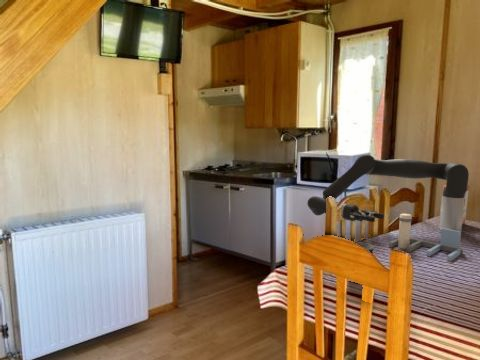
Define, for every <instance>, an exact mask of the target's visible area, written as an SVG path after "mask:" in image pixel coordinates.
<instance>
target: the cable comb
mask: <svg viewBox="0 0 480 360" xmlns="http://www.w3.org/2000/svg"><path fill="white" fill-rule="evenodd" d="M461 235H462V230H461V231H456V230H450V229H444V228H442V229H441V230H440V241H439V242H440V243H435V242H432V241H427V240H421V239H417V238H412V237H410V243H409V246H407V249H406V251H407V252H409V253H411V252H412V251H415V250H417V249H418V248H420V247H427V248H429V249H427V250H426V257H431V256H433V255H435V254H436V253H438V252H439V251H444V252H449V254H447V259H446V261H448V262H452V261H453V260H455V259H456V258H457V257H460V255H464V250H465V249H464V248H461V247H460V245H461V237H462V236H461ZM396 246H398V238H396V239H393V240H391V241H390V242H389V244H388V247H389V248H392V249H393V248H394V247H396Z"/></svg>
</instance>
